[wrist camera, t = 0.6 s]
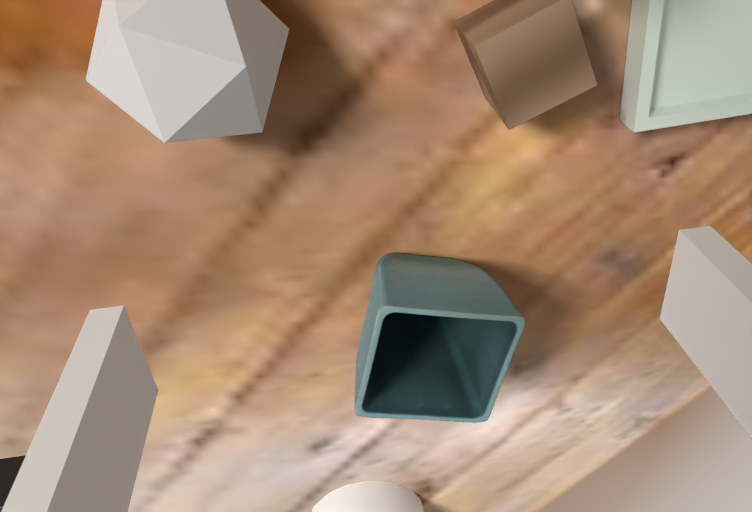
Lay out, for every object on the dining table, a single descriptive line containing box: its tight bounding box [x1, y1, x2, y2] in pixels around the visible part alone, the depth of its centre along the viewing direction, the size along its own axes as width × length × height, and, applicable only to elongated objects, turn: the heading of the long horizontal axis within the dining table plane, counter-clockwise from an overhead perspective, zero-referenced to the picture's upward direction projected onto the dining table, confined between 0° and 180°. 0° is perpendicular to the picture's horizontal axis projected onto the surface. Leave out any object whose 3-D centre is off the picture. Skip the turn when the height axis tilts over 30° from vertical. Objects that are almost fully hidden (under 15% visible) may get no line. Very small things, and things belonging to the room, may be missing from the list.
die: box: [86, 0, 289, 143], centre depth 30 cm, size 8×9×10 cm
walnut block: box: [454, 0, 597, 130], centre depth 33 cm, size 5×5×5 cm
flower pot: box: [355, 253, 525, 423], centre depth 41 cm, size 9×9×9 cm
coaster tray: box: [620, 0, 752, 133], centre depth 35 cm, size 12×12×2 cm
